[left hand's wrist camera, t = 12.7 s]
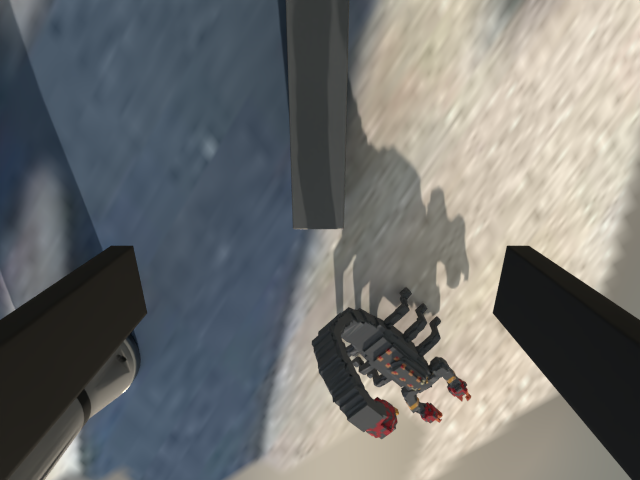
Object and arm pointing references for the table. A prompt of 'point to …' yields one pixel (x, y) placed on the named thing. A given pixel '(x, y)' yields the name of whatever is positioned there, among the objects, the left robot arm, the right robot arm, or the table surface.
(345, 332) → the toy
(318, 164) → the beam
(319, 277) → the table surface
